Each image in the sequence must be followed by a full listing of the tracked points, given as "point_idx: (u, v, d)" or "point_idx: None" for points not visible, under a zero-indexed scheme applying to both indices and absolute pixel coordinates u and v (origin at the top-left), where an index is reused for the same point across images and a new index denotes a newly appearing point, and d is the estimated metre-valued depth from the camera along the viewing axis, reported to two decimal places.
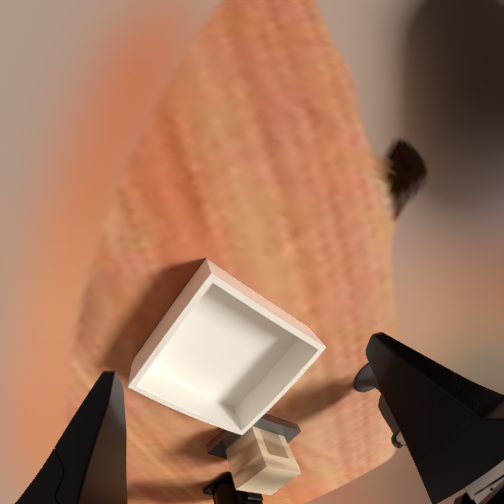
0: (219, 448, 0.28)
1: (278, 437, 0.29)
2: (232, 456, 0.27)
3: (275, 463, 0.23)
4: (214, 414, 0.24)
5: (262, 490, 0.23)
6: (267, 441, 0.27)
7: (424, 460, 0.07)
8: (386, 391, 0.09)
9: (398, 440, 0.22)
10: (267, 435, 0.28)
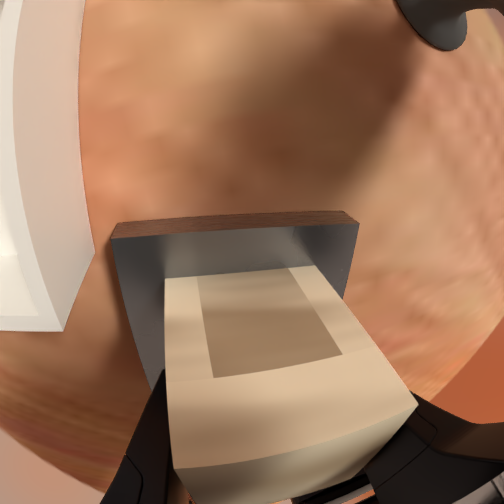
0: None
1: (288, 277, 0.09)
2: None
3: (248, 425, 0.05)
4: None
5: (303, 491, 0.07)
6: (225, 313, 0.08)
7: (380, 484, 0.06)
8: None
9: None
10: (235, 286, 0.09)
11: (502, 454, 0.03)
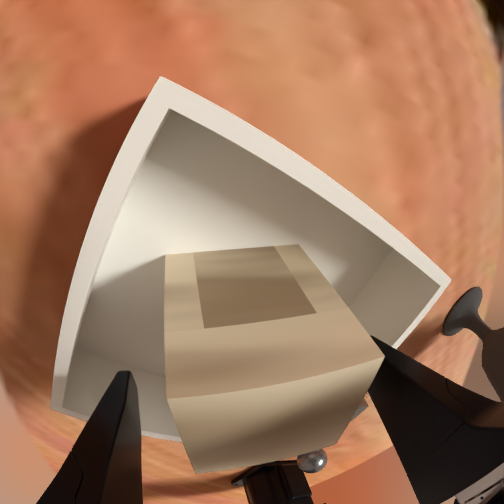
0: None
1: (273, 253, 0.11)
2: None
3: (231, 364, 0.06)
4: None
5: (288, 451, 0.08)
6: (216, 280, 0.09)
7: (414, 467, 0.07)
8: (375, 395, 0.09)
9: None
10: (226, 259, 0.10)
11: None
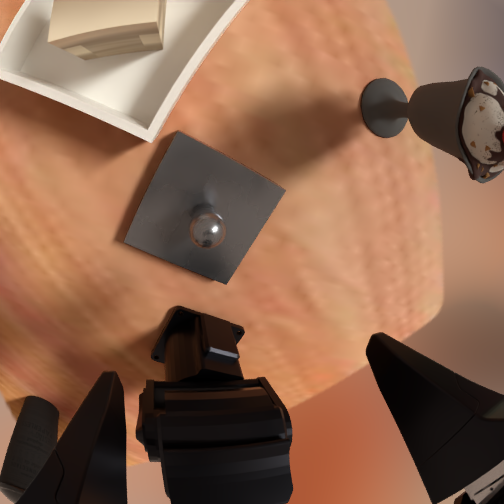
0: (140, 227, 0.18)
1: None
2: None
3: None
4: (104, 108, 0.13)
5: (113, 14, 0.08)
6: None
7: (424, 460, 0.07)
8: (386, 391, 0.09)
9: (469, 140, 0.10)
10: None
11: None
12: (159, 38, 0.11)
